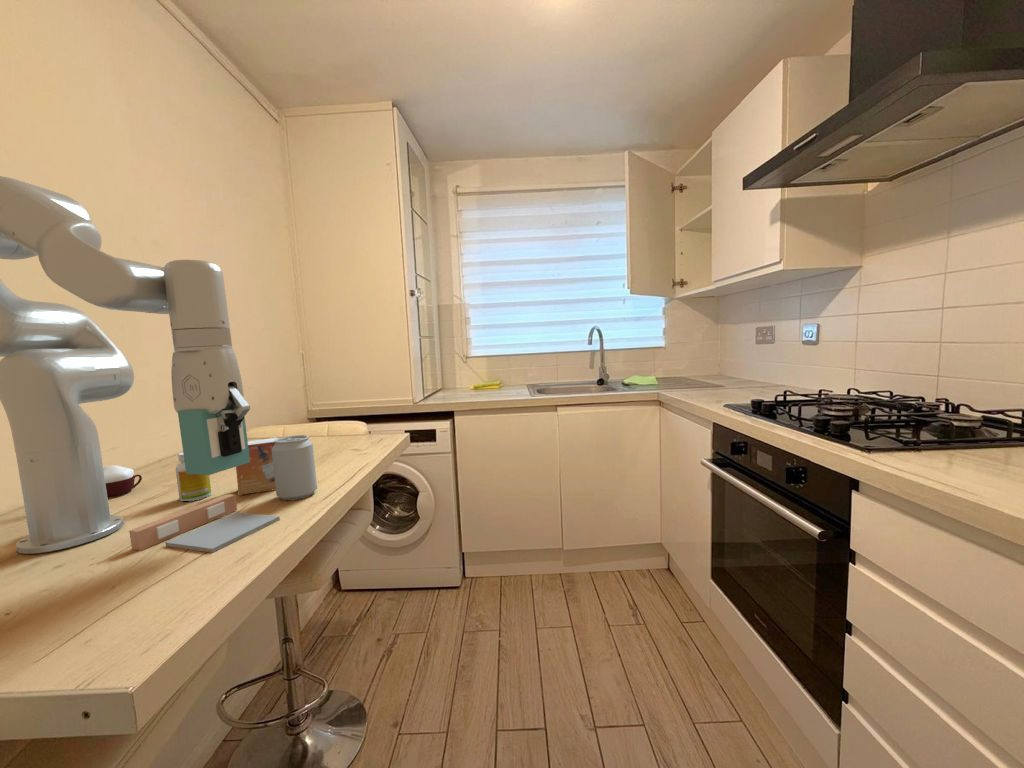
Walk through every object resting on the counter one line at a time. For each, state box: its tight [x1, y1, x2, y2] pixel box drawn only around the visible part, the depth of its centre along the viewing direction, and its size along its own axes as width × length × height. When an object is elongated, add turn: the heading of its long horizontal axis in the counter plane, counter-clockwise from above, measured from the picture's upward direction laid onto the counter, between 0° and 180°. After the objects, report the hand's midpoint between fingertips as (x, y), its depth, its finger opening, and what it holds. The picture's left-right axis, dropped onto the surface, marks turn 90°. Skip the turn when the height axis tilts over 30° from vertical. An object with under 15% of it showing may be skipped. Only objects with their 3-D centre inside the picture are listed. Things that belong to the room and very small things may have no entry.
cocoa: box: [103, 465, 143, 498], centre depth 94 cm, size 10×6×12 cm, turn 128°
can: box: [271, 434, 318, 501], centre depth 86 cm, size 8×8×12 cm
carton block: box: [177, 406, 250, 476], centre depth 69 cm, size 7×5×10 cm
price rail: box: [128, 493, 238, 551], centre depth 73 cm, size 2×16×3 cm, turn 162°
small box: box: [235, 436, 279, 496], centre depth 92 cm, size 8×6×10 cm
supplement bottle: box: [175, 451, 212, 502], centre depth 89 cm, size 5×5×10 cm
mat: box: [165, 511, 281, 554], centre depth 70 cm, size 10×12×1 cm
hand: (218, 452), depth 69 cm, fingers closed on carton block, 5 cm apart
